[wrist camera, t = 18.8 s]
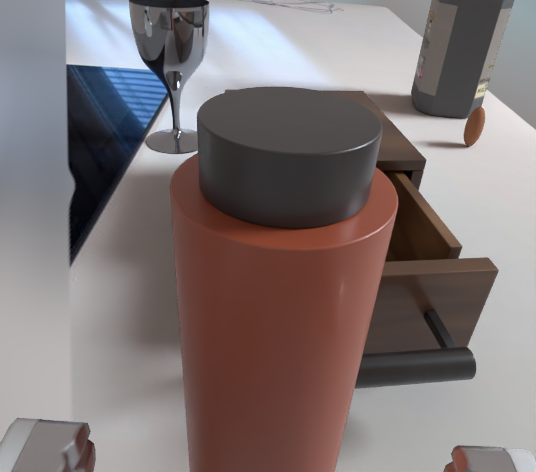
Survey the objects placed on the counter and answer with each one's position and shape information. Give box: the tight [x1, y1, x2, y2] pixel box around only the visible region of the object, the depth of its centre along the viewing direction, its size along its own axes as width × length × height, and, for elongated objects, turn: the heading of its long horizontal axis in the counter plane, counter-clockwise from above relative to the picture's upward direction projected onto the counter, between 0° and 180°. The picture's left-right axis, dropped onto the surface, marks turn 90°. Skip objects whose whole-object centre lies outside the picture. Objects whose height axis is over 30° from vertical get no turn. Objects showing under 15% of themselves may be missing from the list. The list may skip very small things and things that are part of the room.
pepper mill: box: [170, 87, 398, 472], centre depth 15 cm, size 6×6×20 cm
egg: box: [464, 107, 485, 146], centre depth 59 cm, size 2×2×5 cm
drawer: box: [354, 170, 499, 389], centre depth 31 cm, size 19×12×7 cm, turn 8°
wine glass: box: [129, 0, 209, 153], centre depth 52 cm, size 8×8×15 cm
